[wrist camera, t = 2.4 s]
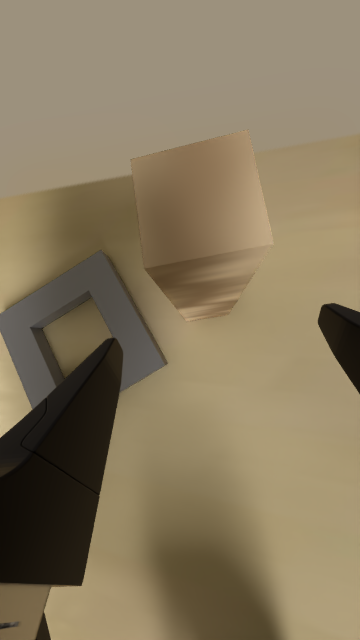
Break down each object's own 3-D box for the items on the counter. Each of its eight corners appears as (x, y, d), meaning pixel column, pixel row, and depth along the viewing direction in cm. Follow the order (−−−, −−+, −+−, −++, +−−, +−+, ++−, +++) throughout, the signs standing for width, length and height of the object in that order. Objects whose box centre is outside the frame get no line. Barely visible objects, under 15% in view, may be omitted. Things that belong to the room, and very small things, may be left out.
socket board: (108, 256, 22) (100, 249, 21) (168, 363, 20) (165, 365, 19) (8, 319, 23) (-6, 317, 22) (55, 430, 21) (44, 437, 19)
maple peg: (220, 275, 21) (248, 129, 7) (228, 314, 20) (274, 243, 6) (180, 282, 21) (130, 159, 7) (186, 321, 20) (144, 268, 7)
